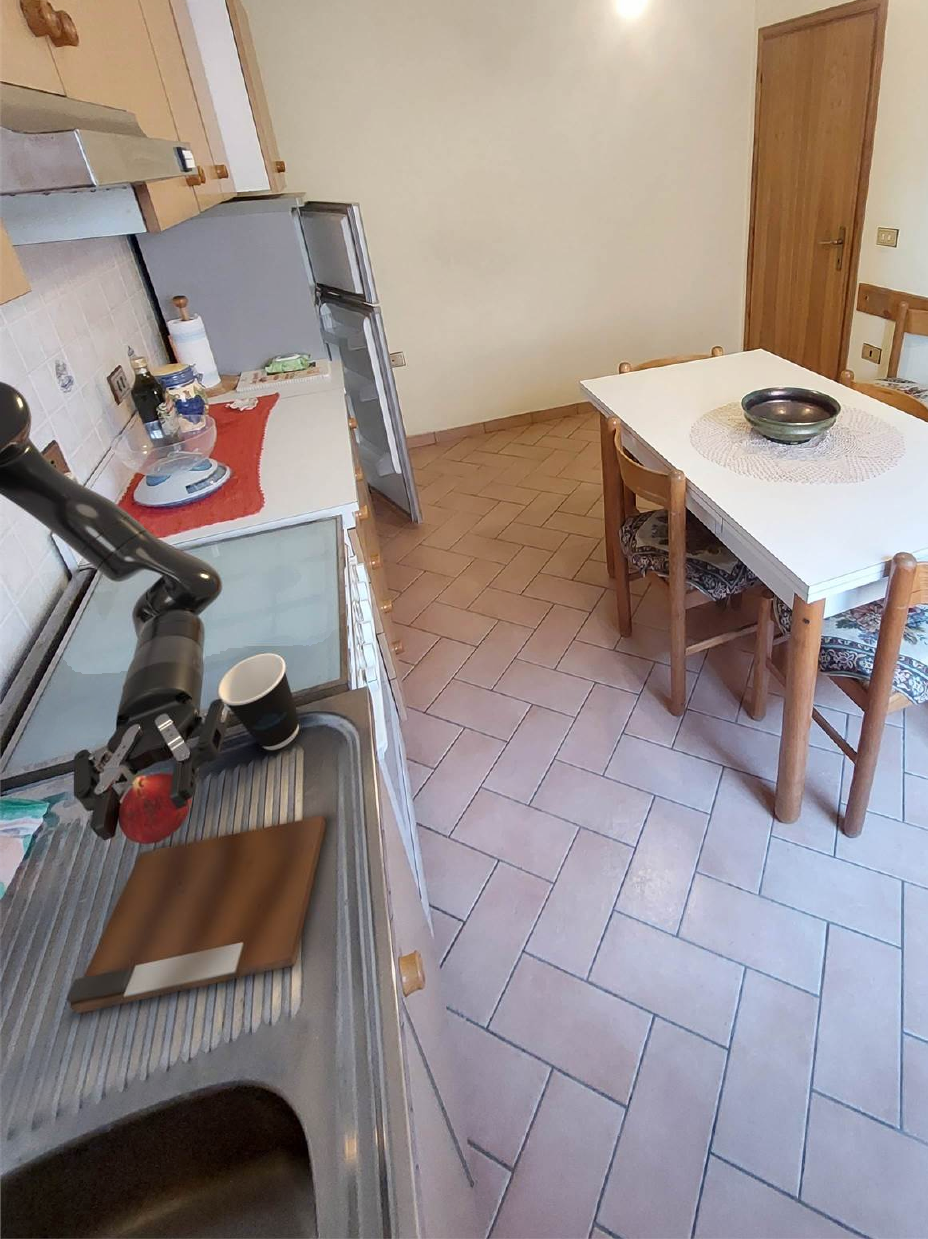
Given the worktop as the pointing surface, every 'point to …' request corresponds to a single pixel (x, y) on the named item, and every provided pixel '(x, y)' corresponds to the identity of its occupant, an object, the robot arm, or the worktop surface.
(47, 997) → the worktop surface
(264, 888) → the cutting board
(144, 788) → the onion
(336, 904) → the worktop surface
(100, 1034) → the worktop surface
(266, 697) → the dixie cup
